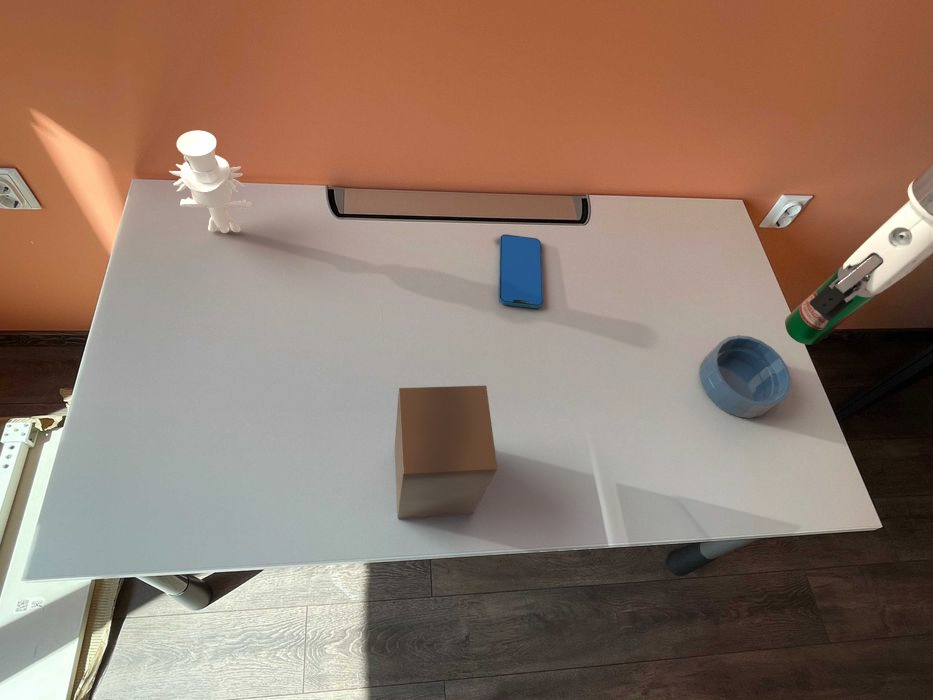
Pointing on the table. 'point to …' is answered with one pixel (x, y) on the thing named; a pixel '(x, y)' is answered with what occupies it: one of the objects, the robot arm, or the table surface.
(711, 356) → the bowl
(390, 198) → the table surface
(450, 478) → the plinth
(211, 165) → the figurine
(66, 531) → the table surface
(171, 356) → the table surface
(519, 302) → the smartphone
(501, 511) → the table surface
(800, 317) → the soda can
